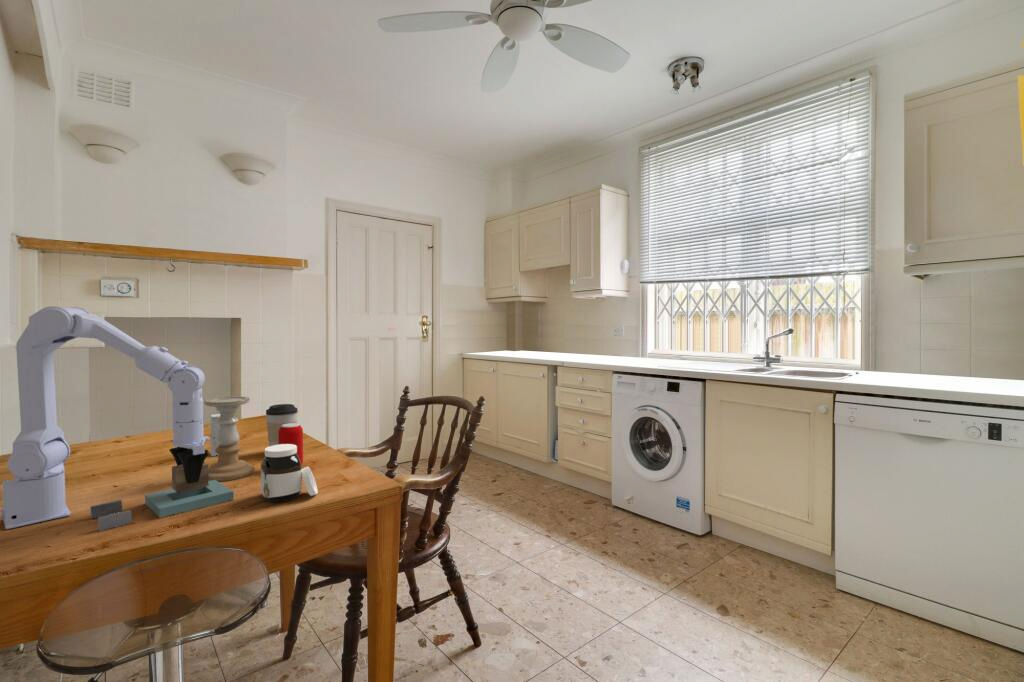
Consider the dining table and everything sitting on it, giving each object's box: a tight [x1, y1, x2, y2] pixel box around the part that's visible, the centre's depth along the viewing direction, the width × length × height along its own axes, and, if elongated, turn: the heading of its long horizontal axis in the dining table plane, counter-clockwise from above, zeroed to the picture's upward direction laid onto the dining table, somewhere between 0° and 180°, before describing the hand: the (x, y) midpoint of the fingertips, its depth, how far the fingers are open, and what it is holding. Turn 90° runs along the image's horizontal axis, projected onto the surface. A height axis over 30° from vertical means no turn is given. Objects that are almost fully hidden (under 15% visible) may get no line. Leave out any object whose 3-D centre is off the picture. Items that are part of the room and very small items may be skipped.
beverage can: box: [278, 422, 304, 466], centre depth 136 cm, size 6×6×12 cm
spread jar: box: [260, 444, 319, 503], centre depth 114 cm, size 12×11×12 cm
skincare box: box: [210, 413, 220, 457], centre depth 149 cm, size 6×4×12 cm
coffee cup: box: [265, 403, 299, 447], centre depth 151 cm, size 9×9×15 cm
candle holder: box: [203, 395, 255, 482], centre depth 129 cm, size 12×12×20 cm
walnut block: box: [171, 461, 209, 493], centre depth 110 cm, size 4×6×5 cm, turn 139°
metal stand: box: [89, 499, 132, 532], centre depth 99 cm, size 5×10×2 cm, turn 49°
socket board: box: [144, 480, 234, 519], centre depth 110 cm, size 14×12×2 cm
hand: (189, 480), depth 109 cm, fingers closed on walnut block, 4 cm apart
